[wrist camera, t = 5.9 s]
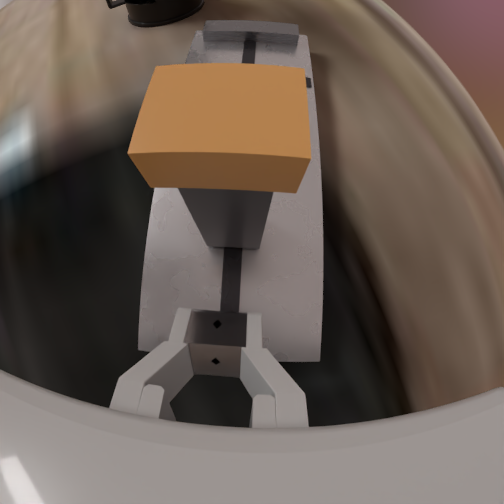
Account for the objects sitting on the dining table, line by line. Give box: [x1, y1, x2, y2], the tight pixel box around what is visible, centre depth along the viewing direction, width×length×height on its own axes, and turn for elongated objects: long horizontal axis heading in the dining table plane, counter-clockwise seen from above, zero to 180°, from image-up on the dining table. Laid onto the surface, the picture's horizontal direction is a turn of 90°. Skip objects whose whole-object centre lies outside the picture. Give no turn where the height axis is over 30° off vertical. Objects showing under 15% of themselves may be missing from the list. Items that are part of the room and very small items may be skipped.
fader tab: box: [128, 63, 311, 249], centre depth 11 cm, size 3×4×10 cm
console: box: [138, 20, 323, 362], centre depth 18 cm, size 26×10×3 cm, turn 177°
